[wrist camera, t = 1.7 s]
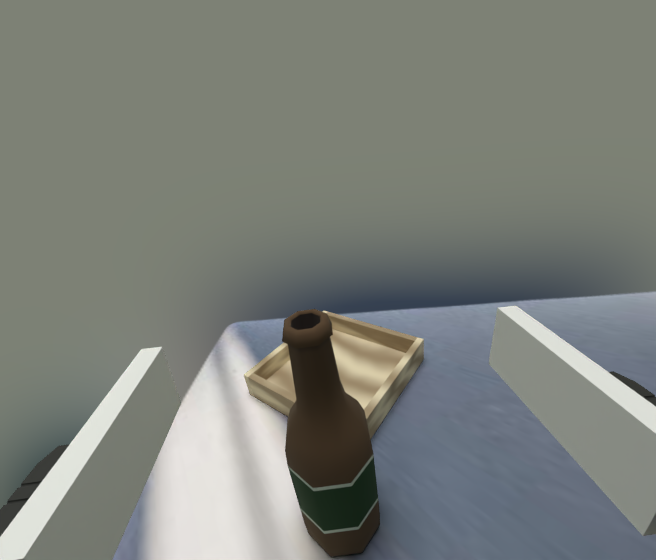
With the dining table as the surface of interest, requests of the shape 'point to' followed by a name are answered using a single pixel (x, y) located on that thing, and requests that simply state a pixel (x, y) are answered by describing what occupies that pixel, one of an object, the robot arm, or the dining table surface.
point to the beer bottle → (328, 442)
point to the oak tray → (348, 368)
